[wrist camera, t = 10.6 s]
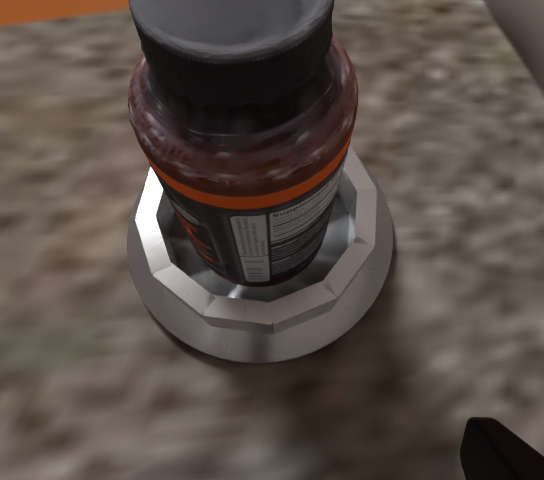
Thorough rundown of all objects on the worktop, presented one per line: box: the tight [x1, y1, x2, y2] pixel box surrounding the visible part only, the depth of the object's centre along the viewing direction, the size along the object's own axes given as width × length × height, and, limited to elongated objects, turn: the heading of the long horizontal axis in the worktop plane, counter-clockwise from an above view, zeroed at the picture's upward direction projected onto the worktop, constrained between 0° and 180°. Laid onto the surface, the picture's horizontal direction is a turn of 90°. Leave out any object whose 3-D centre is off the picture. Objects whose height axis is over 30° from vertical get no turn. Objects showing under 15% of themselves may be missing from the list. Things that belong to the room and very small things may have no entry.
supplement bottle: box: [128, 0, 358, 287], centre depth 13 cm, size 6×6×11 cm
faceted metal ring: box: [127, 145, 393, 364], centre depth 17 cm, size 12×12×2 cm
